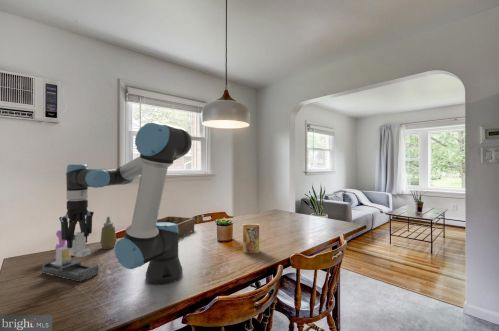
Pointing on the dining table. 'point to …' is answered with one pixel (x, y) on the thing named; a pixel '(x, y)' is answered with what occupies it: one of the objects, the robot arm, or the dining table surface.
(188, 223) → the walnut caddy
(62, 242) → the toy chair
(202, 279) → the dining table surface
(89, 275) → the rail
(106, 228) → the squeeze bottle
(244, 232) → the candy box
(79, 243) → the gold-topped white block
